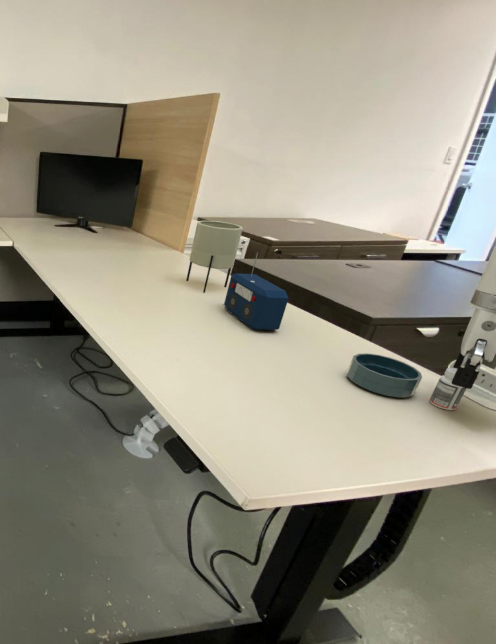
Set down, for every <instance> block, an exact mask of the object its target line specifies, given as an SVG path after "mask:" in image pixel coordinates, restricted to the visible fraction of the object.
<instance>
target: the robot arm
mask: <svg viewBox="0 0 496 644" xmlns="http://www.w3.org/2000/svg"><path fill="white" fill-rule="evenodd" d="M485 265H486V266H485V268H484V271H483V272H482V275H481V277H480V278H479V281H478V283H477V285H476V288H475V290H474V293H473V295H472V297H471V299H470V302H469V306H470V307H471V308H475V309H474V310H473V313H472V316H471V317H470V320H469V321H468V324H467V327H466V329H465V332H464V334H463V338H462V341H461V344H460V352H459V353H458V355H457V357H456V359H455V361H454V364H453V365H452V368H457V371H456V373H455V375H454V377H453V380H452V382H451V383H452V384H453V385H457V386H460V387H464V388H467V389H469V390H471V389H472V388H473V386H474V384H475V382H476V380H477V378H478V376H479V373H480V370H481V366H482V364H483V361H484V360H485V361H486V362H487V363H491V362H493V361H494V358H495V356H496V245H495V246H494V248H493V249H492V252H491V254H490V257H489V259H488V261H487V263H486V264H485Z"/></svg>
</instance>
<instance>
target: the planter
mask: <svg viewBox="0 0 496 644" xmlns="http://www.w3.org/2000/svg"><path fill="white" fill-rule="evenodd" d="M243 229H244V228H243V226H241V225H239V224H236V223H231V222H226V221H218V220H199V221H197V223H196V227H195V232H194V236H193V241H192V246H191V252H190V256H189V265H188V270H187V275H186V280H185V281H186V282H189V279H190V275H191V271H192V266H193V264H194V265H197V266H199V267H204V268H208V269H207V273H206V278H205V281H204V282H205V283H204V286H203V291H202V293H203V294H205V293H206V289H207V286H208V282H209V278H210V272H211V269H214V270H215V269H217V270H227V269H228V270H227V274H226V278H225V282H224V285H223V287H224V288H228V287H227V286H228V284H229V280H230V276H231V275H230V274H231V271H232V268H233V267H234V265H235V260H236V258H237V257H236V256H237V252H238V248H239V246H240V240H241V237H242V233H243Z"/></svg>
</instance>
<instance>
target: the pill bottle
mask: <svg viewBox="0 0 496 644" xmlns="http://www.w3.org/2000/svg"><path fill="white" fill-rule="evenodd" d="M456 371H457V368H453V367H447V368H446V370H445V371H444V374H443V375H441V376H440V377H439V379H438V381H437V383H436V385H435V387H434V389H433V391H432V394H431V395H430V397H429V403H430V404H432V405H433V406H434V407H436V408H439V409H443V410H446V411H455V410H456V409H457V408H458V407H459V404H460V402H461V400H462V399H463V397H464V395H465V394H466V393H465V392H466V390H467V389H468V388H464V387H460V386H457V385H453V384H452V383H451V382H452V380H453V377H454V375H455V373H456Z"/></svg>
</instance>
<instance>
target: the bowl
mask: <svg viewBox="0 0 496 644" xmlns="http://www.w3.org/2000/svg"><path fill="white" fill-rule="evenodd" d="M346 377H347V378H349V380H350V382H353V383H354V384H356V385H358V386H359V387H361V388H363V389H365V390H367V391H370V392H372V393H375V394H378V395H382V396H386V397H393V398H411V397H412V396H414V394H415V393H416V391H417V389H418V387H419V385H420V383H421V381H422V379H423V376H422V372H420V371H419V370H418V369H417V368H415V367H414V366H412V365H410V364H408V363H406V362H404V361H402V360H398V359H396V358H394V357H393V358H392V357H390V356H384V355H381V354H376V353H367V352H365V353H357V354H355V355H353V356H352V358H351V360H350V364H349V366H348V368H347V371H346Z"/></svg>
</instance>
